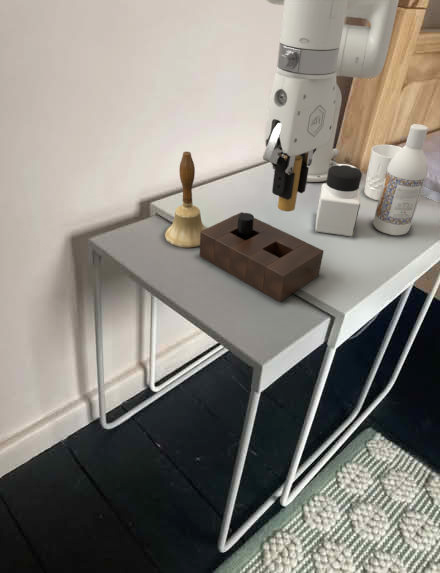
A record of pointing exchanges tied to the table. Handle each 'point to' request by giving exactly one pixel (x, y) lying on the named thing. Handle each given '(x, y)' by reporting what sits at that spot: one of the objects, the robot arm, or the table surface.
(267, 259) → the pin block
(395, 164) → the bath foam
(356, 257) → the table surface
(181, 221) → the hand bell
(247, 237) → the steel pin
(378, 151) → the white cup
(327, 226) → the medicine bottle
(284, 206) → the brass pin
